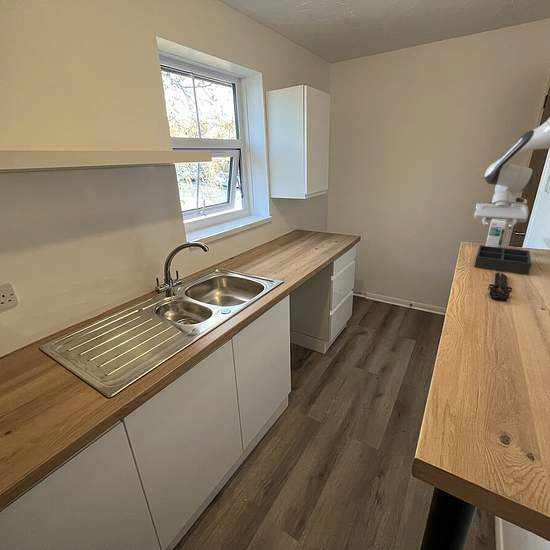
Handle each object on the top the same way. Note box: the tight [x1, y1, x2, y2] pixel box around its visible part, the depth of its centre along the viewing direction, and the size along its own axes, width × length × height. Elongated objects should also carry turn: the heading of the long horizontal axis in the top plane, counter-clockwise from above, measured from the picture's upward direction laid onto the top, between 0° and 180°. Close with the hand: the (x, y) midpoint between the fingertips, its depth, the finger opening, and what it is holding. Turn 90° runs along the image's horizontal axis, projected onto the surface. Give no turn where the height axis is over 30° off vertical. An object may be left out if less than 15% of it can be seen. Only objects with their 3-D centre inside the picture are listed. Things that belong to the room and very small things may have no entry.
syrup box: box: [485, 218, 509, 248], centre depth 137 cm, size 6×6×14 cm
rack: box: [473, 244, 532, 276], centre depth 123 cm, size 17×17×5 cm
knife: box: [488, 271, 513, 302], centre depth 105 cm, size 25×6×1 cm, turn 140°
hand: (497, 227), depth 138 cm, fingers open, 8 cm apart
